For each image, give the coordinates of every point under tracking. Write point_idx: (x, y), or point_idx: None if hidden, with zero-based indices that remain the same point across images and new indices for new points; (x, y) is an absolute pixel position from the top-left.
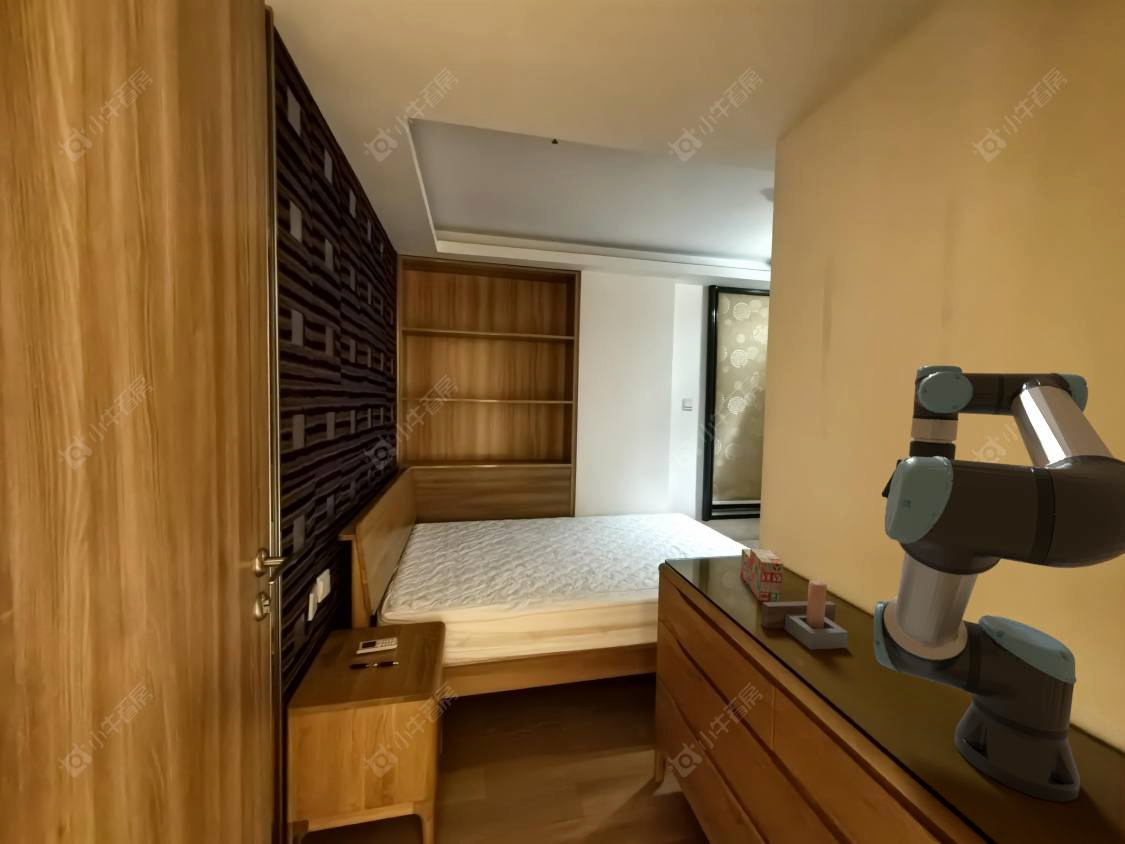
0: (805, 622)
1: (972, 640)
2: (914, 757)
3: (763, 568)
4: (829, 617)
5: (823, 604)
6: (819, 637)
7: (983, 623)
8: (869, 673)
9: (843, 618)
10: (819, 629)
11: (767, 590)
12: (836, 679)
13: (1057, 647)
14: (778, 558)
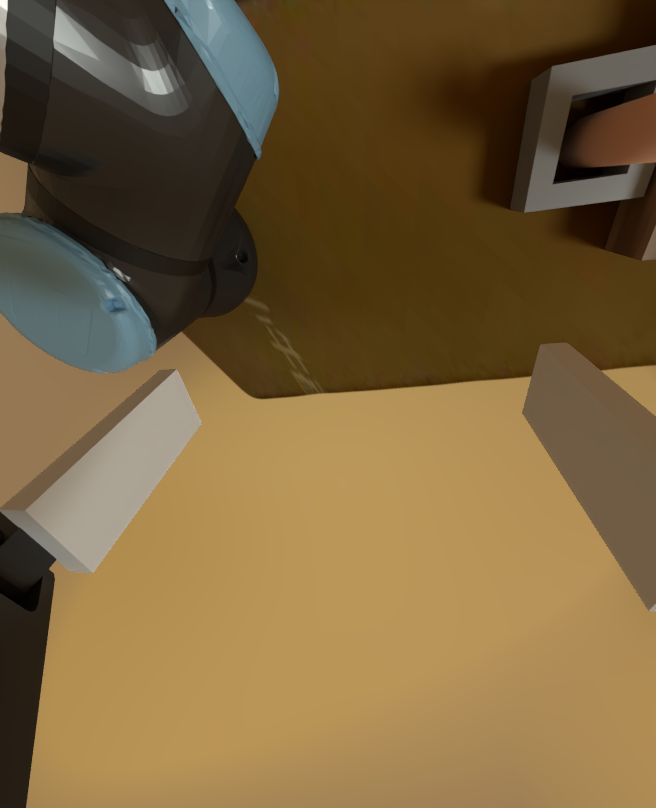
0: None
1: (30, 172)
2: None
3: None
4: (623, 236)
5: (619, 141)
6: (539, 107)
7: (33, 228)
8: (411, 190)
9: (622, 302)
10: (563, 120)
11: None
12: (397, 69)
13: (18, 326)
14: None
